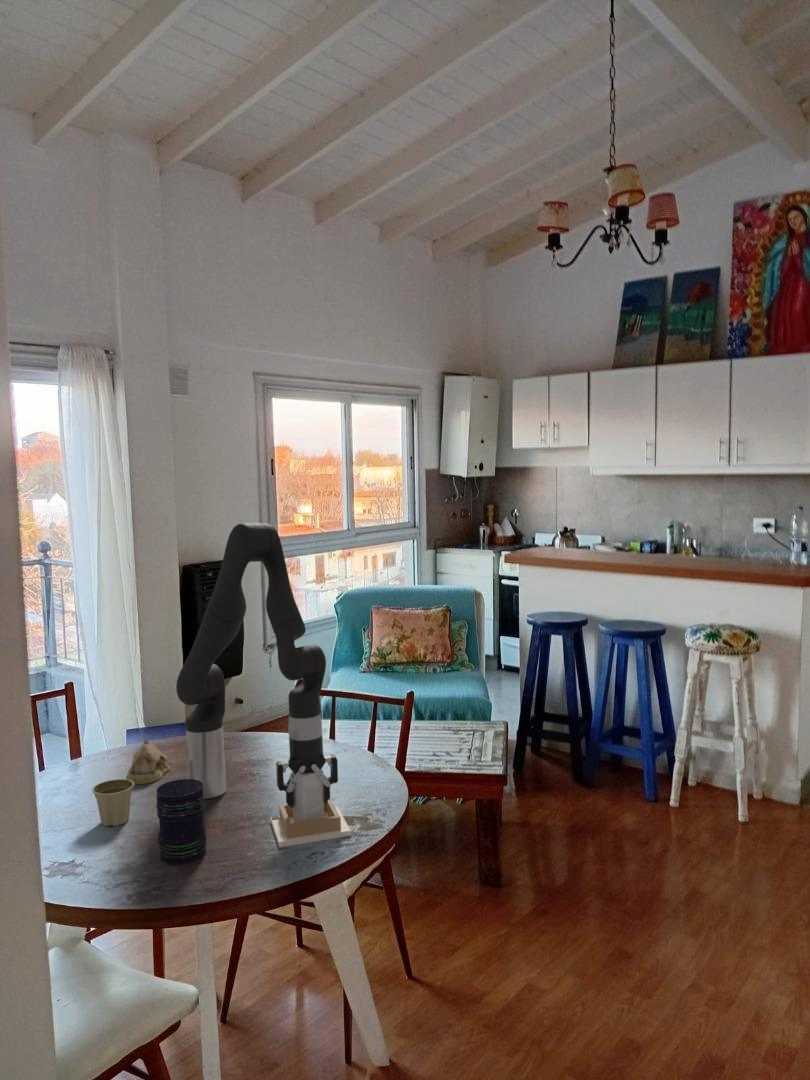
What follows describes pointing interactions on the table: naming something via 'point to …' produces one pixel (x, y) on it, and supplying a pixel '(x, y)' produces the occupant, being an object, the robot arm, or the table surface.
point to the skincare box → (308, 797)
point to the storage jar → (181, 822)
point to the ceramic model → (147, 764)
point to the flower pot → (113, 801)
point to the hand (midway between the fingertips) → (308, 803)
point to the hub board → (309, 826)
